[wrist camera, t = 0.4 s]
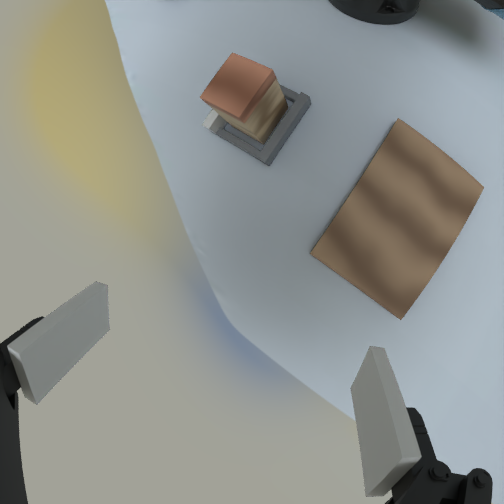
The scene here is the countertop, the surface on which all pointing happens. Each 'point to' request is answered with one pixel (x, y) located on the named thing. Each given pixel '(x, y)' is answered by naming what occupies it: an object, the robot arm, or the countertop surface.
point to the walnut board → (399, 220)
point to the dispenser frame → (279, 135)
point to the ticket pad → (262, 115)
